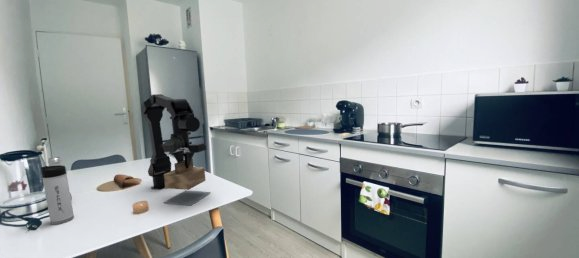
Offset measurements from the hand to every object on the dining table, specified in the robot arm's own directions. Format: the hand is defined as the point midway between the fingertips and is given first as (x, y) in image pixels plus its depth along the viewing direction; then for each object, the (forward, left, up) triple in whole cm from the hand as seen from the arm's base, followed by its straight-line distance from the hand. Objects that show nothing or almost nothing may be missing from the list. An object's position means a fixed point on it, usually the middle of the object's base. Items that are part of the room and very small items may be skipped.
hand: (184, 168), depth 104 cm
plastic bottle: (-49, -16, -13) cm, 53 cm away
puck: (-10, -14, -13) cm, 21 cm away
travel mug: (-33, -26, -13) cm, 44 cm away
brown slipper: (-47, +12, -14) cm, 50 cm away
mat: (0, 0, -13) cm, 13 cm away
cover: (0, 0, -7) cm, 7 cm away
